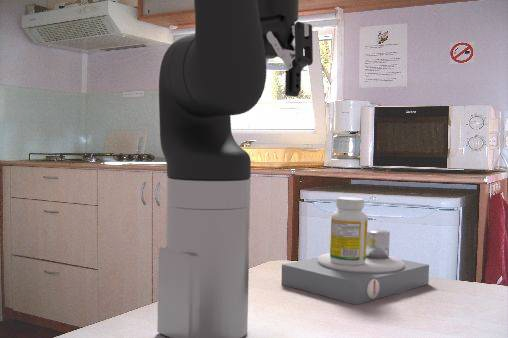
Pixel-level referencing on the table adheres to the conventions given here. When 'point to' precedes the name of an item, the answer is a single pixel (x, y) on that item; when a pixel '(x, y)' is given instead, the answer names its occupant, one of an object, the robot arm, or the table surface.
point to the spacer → (377, 244)
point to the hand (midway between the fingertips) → (271, 97)
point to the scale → (355, 278)
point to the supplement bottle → (348, 232)
